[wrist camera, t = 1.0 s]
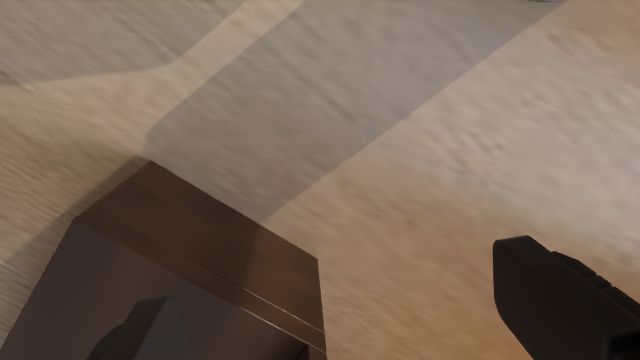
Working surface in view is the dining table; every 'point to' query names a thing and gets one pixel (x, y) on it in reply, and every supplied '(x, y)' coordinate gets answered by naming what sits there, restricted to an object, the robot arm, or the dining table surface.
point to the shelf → (173, 278)
